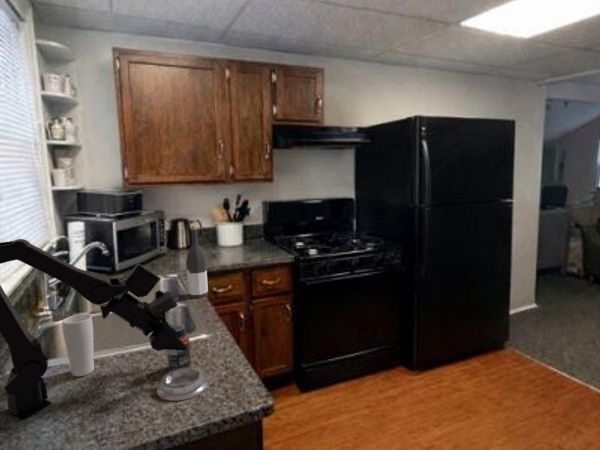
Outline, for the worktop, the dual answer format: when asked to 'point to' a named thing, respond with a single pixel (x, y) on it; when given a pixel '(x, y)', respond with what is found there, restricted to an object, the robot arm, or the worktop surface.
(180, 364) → the supplement bottle
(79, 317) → the drinking glass
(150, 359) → the worktop surface
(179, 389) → the faceted metal ring
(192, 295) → the wine bottle
